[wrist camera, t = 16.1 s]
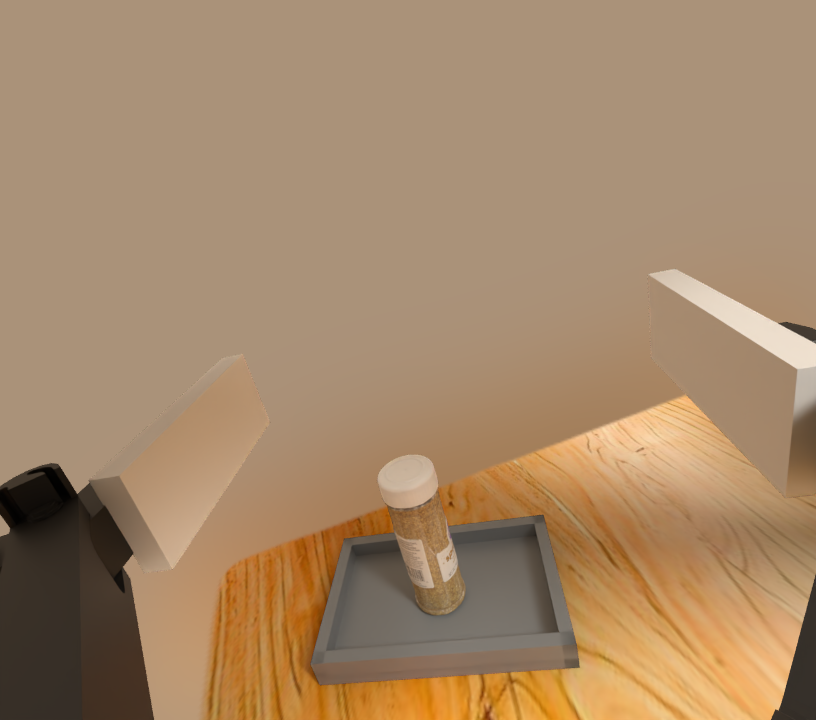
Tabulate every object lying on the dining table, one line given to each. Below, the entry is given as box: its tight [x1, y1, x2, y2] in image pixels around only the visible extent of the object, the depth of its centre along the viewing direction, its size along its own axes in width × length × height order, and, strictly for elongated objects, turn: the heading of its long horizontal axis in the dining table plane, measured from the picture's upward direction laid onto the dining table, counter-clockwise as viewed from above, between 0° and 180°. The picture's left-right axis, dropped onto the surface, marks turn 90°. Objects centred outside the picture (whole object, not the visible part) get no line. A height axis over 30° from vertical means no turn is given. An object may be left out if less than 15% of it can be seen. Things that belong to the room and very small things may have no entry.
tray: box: [310, 515, 580, 685], centre depth 41 cm, size 20×13×2 cm, turn 86°
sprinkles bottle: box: [377, 455, 466, 615], centre depth 39 cm, size 5×5×14 cm
